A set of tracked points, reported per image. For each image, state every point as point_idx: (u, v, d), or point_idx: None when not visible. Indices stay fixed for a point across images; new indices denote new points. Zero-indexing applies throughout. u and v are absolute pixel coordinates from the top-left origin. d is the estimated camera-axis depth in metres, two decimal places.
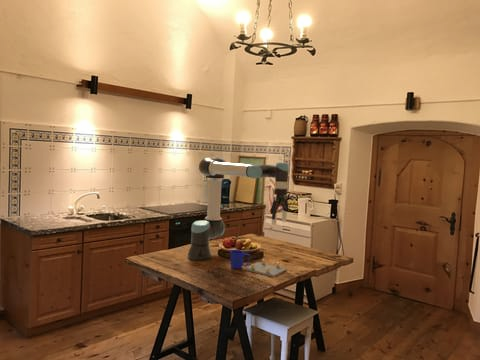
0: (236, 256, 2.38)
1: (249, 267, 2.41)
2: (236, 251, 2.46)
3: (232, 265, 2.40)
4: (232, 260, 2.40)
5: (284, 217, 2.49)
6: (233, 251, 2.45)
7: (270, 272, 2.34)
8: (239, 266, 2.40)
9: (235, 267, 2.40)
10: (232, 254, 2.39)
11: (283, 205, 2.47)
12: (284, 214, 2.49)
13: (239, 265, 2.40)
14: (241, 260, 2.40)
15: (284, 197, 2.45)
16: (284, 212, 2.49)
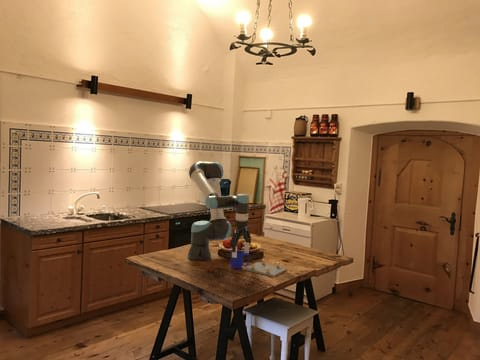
0: None
1: (249, 267, 2.41)
2: None
3: (232, 265, 2.40)
4: (232, 260, 2.40)
5: (246, 248, 2.47)
6: None
7: (270, 272, 2.34)
8: (239, 266, 2.40)
9: (235, 267, 2.40)
10: None
11: (245, 237, 2.44)
12: (246, 245, 2.47)
13: (239, 265, 2.40)
14: (241, 260, 2.40)
15: (245, 229, 2.43)
16: (246, 243, 2.47)
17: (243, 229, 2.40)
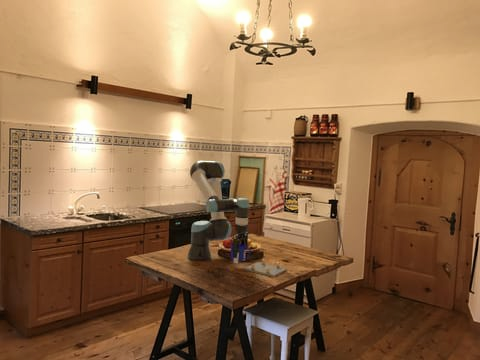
0: None
1: (249, 267, 2.41)
2: None
3: (232, 258, 2.41)
4: (232, 253, 2.41)
5: (243, 256, 2.45)
6: None
7: (270, 272, 2.34)
8: (239, 259, 2.41)
9: None
10: None
11: (242, 242, 2.44)
12: None
13: (239, 258, 2.41)
14: (241, 253, 2.41)
15: (245, 233, 2.43)
16: None
17: (243, 231, 2.41)
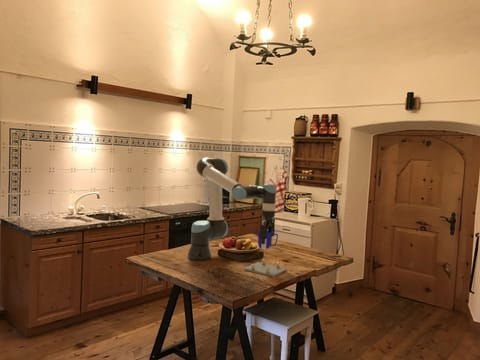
0: None
1: (249, 267, 2.41)
2: None
3: (260, 245, 2.38)
4: (260, 240, 2.38)
5: None
6: None
7: (270, 272, 2.34)
8: (267, 246, 2.38)
9: None
10: None
11: (270, 228, 2.41)
12: None
13: (267, 245, 2.38)
14: (269, 240, 2.38)
15: (272, 219, 2.41)
16: None
17: (270, 218, 2.38)
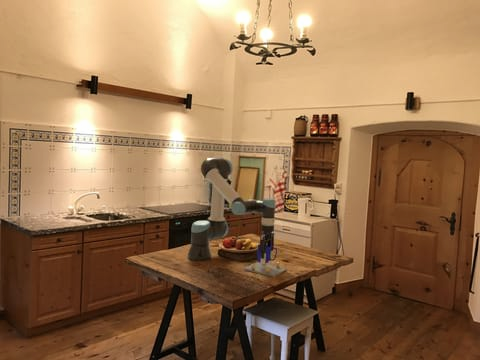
0: None
1: (249, 267, 2.41)
2: None
3: (259, 259, 2.39)
4: (259, 254, 2.39)
5: None
6: None
7: (270, 272, 2.34)
8: (266, 260, 2.39)
9: None
10: None
11: (269, 243, 2.42)
12: None
13: (266, 259, 2.38)
14: (268, 254, 2.39)
15: (271, 233, 2.41)
16: None
17: (269, 232, 2.39)
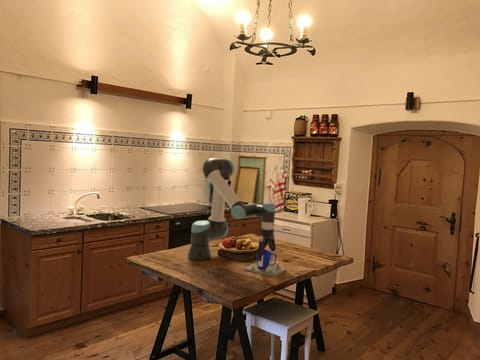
0: (263, 256, 2.38)
1: (249, 267, 2.41)
2: None
3: None
4: None
5: (271, 257, 2.46)
6: None
7: (270, 272, 2.34)
8: (266, 266, 2.39)
9: (262, 267, 2.39)
10: None
11: (270, 245, 2.43)
12: None
13: (266, 265, 2.39)
14: (268, 260, 2.39)
15: (271, 237, 2.42)
16: (271, 252, 2.46)
17: (269, 237, 2.39)
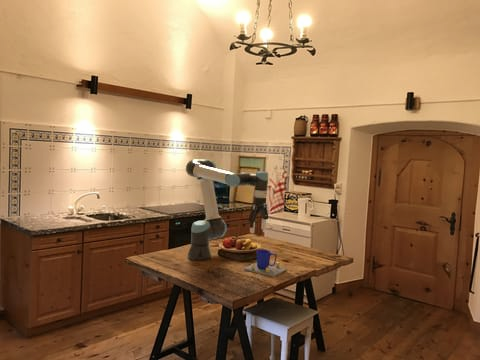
0: (263, 256, 2.38)
1: (249, 267, 2.41)
2: (262, 251, 2.45)
3: (258, 265, 2.40)
4: (259, 260, 2.39)
5: (263, 225, 2.52)
6: (259, 251, 2.44)
7: (270, 272, 2.34)
8: (266, 266, 2.39)
9: (262, 267, 2.39)
10: (259, 254, 2.39)
11: (262, 213, 2.50)
12: (263, 222, 2.52)
13: (266, 265, 2.39)
14: (268, 260, 2.39)
15: (263, 206, 2.48)
16: (263, 220, 2.52)
17: (261, 206, 2.46)
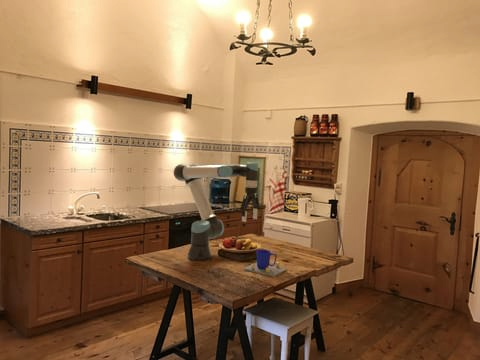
0: (263, 256, 2.38)
1: (249, 267, 2.41)
2: (262, 251, 2.45)
3: (258, 265, 2.40)
4: (259, 260, 2.39)
5: (255, 214, 2.61)
6: (259, 251, 2.44)
7: (270, 272, 2.34)
8: (266, 266, 2.39)
9: (262, 267, 2.39)
10: (259, 254, 2.39)
11: (254, 203, 2.59)
12: (255, 211, 2.61)
13: (266, 265, 2.39)
14: (268, 260, 2.39)
15: (254, 195, 2.57)
16: (255, 210, 2.61)
17: (252, 195, 2.54)
